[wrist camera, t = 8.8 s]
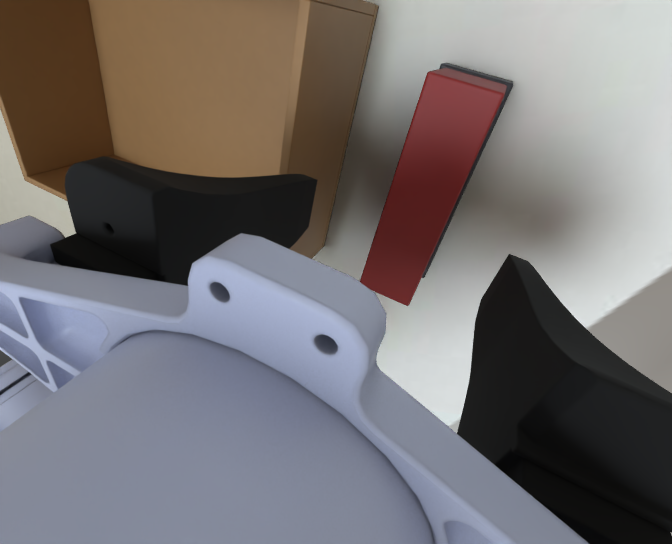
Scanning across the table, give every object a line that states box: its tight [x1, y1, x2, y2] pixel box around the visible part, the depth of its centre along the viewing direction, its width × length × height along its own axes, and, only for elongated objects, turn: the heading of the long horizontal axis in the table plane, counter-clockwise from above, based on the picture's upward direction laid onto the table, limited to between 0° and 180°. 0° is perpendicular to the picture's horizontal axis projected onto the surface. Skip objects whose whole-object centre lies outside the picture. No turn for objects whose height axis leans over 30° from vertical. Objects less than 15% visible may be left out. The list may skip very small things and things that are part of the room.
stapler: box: [360, 63, 513, 306], centre depth 16 cm, size 10×3×5 cm, turn 168°
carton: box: [0, 0, 378, 259], centre depth 19 cm, size 18×13×6 cm
